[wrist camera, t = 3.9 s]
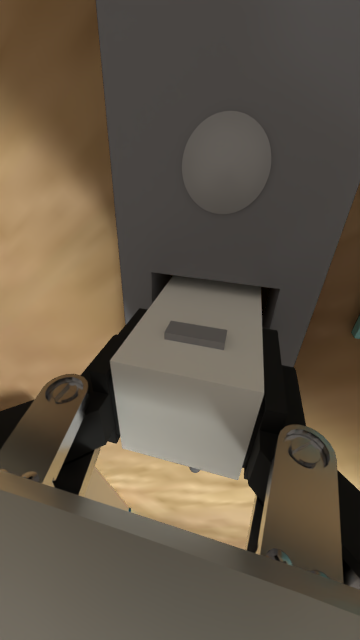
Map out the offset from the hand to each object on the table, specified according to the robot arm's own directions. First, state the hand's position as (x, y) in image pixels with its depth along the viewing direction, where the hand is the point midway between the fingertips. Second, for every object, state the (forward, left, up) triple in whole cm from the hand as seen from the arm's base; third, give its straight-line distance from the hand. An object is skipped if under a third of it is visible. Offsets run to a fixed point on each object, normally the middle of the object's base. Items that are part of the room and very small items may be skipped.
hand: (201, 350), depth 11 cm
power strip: (0, 0, -4) cm, 4 cm away
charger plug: (0, 0, -4) cm, 4 cm away
